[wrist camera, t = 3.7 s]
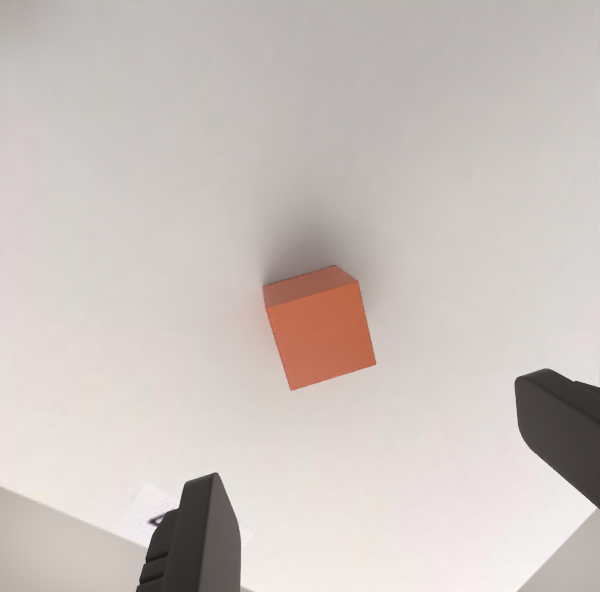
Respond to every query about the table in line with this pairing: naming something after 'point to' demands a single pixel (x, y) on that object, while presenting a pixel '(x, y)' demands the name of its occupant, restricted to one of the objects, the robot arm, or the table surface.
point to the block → (319, 326)
